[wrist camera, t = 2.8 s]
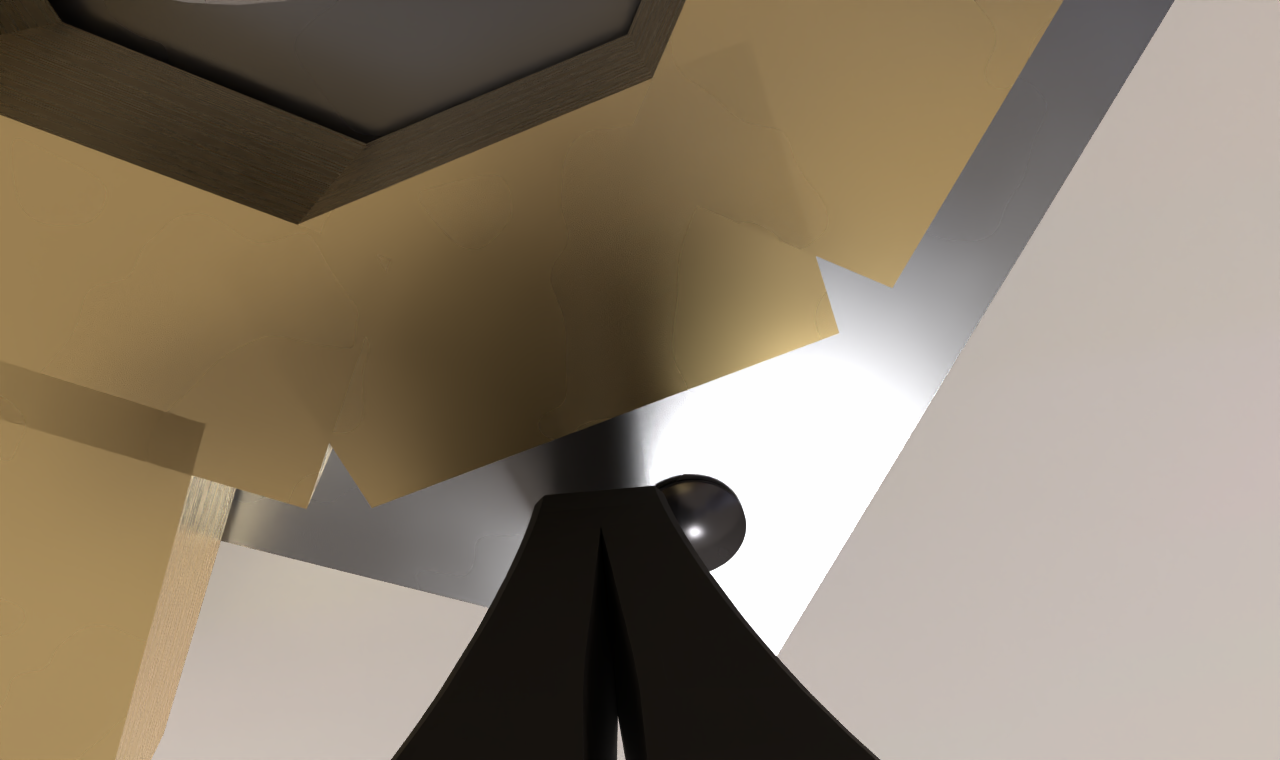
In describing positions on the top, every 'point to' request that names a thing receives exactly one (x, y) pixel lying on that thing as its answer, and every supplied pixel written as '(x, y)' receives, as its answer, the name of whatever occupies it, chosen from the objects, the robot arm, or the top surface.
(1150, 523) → the top surface
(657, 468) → the flange plate
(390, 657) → the top surface
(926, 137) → the handled octagonal ring
